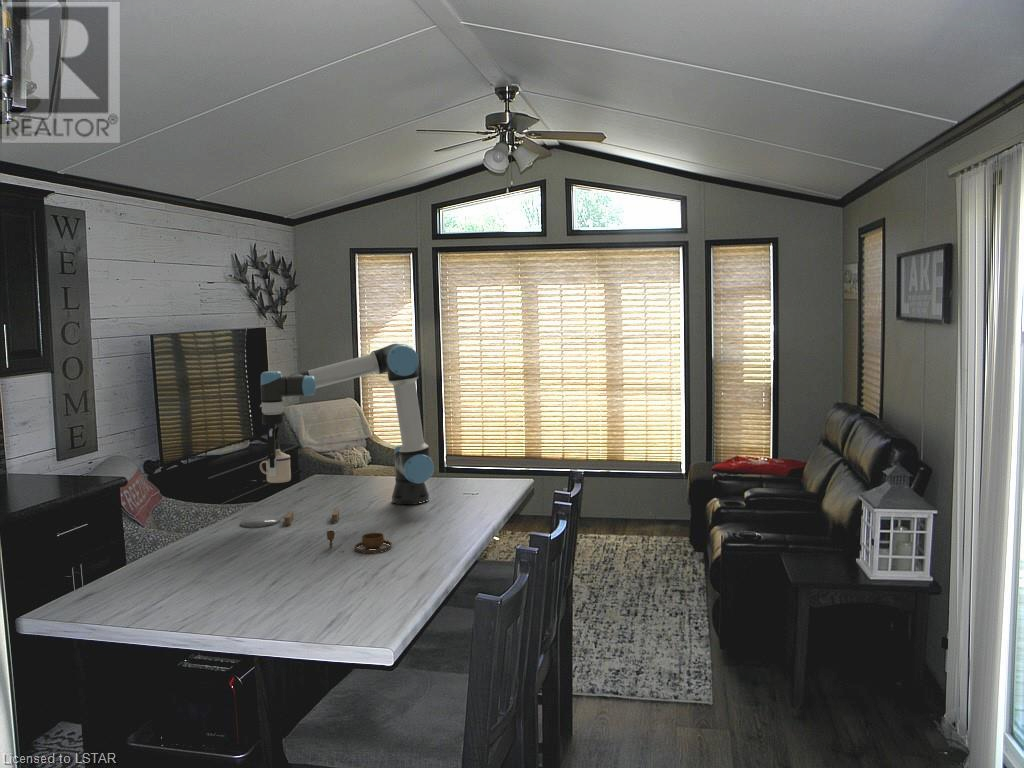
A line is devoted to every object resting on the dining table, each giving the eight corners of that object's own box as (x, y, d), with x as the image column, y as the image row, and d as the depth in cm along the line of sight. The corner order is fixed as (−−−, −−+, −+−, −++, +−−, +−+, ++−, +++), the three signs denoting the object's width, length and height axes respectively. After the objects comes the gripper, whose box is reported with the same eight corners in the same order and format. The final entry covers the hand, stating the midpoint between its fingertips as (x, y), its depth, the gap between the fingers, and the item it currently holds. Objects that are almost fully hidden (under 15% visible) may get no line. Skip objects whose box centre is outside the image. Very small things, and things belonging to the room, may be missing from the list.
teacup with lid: (295, 478, 313) (294, 447, 312) (284, 483, 304) (283, 452, 303) (266, 477, 315) (265, 447, 314) (254, 482, 306) (253, 451, 305)
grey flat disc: (282, 517, 318) (282, 514, 318) (277, 526, 304) (277, 523, 304) (244, 519, 316) (244, 516, 316) (237, 528, 302) (237, 525, 302)
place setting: (364, 559, 262) (364, 541, 261) (323, 549, 274) (323, 532, 273) (405, 546, 275) (404, 529, 275) (364, 537, 288) (363, 521, 287)
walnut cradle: (339, 516, 317) (338, 508, 317) (337, 522, 307) (337, 514, 307) (287, 519, 315) (287, 511, 314) (284, 525, 305) (284, 517, 304)
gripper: (265, 410, 317) (267, 468, 319) (257, 417, 296) (259, 479, 297) (286, 409, 318) (288, 468, 320) (279, 416, 297) (281, 478, 299)
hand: (274, 473), depth 309 cm, fingers closed on teacup with lid, 9 cm apart
